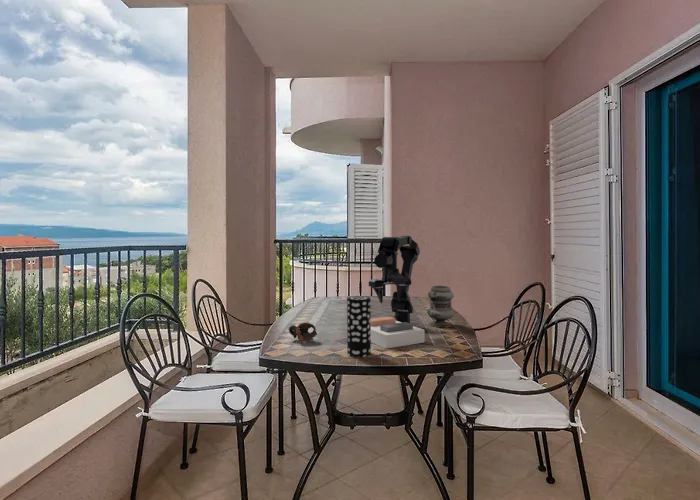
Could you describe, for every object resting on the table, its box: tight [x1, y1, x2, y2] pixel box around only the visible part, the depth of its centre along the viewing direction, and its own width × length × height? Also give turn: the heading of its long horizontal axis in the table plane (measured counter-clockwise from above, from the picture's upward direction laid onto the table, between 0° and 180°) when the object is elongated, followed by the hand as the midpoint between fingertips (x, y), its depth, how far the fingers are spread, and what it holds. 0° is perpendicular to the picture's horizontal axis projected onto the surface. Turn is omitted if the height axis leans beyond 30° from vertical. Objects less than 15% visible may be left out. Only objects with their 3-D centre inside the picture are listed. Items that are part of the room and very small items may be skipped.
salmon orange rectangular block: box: [371, 316, 396, 326], centre depth 179 cm, size 12×5×4 cm, turn 118°
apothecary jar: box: [427, 284, 455, 328], centre depth 198 cm, size 12×12×18 cm
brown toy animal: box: [287, 322, 318, 345], centre depth 171 cm, size 12×10×8 cm
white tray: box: [371, 321, 425, 349], centre depth 174 cm, size 18×24×5 cm
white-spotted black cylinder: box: [346, 295, 372, 358], centre depth 152 cm, size 8×8×20 cm
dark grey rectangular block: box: [380, 322, 414, 333], centre depth 168 cm, size 12×5×4 cm, turn 118°
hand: (390, 302), depth 184 cm, fingers open, 9 cm apart
